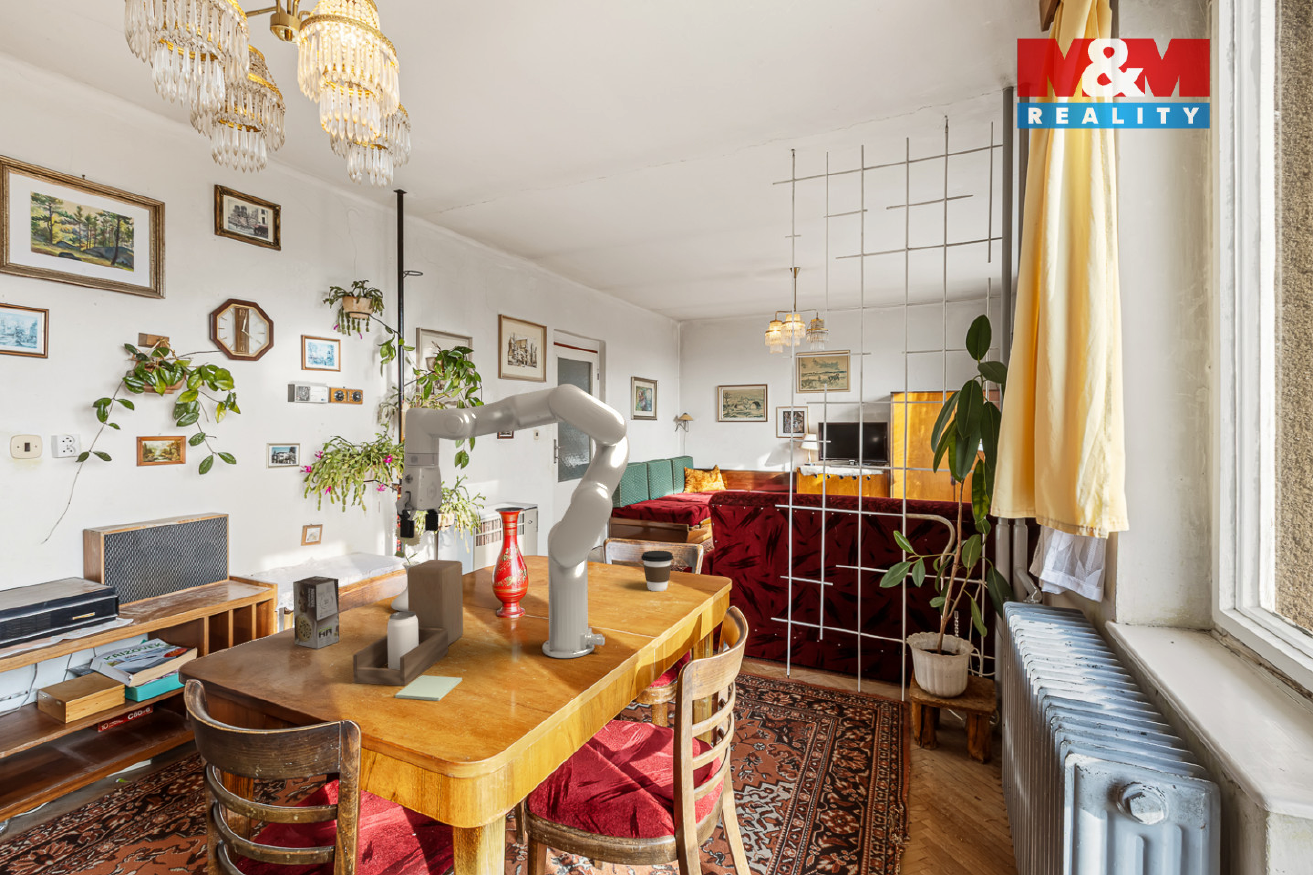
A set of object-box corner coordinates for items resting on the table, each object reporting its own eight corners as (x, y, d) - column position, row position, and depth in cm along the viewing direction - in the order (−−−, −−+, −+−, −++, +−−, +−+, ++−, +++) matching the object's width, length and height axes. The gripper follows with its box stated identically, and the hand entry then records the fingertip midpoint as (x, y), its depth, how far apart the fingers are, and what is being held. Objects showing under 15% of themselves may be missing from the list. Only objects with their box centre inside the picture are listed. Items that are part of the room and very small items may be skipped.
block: (443, 650, 144) (442, 569, 144) (407, 647, 146) (405, 567, 146) (464, 636, 154) (463, 560, 154) (430, 633, 156) (429, 558, 156)
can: (388, 675, 130) (388, 621, 130) (387, 664, 136) (386, 613, 136) (420, 669, 133) (419, 616, 133) (417, 659, 139) (416, 608, 139)
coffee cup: (638, 592, 193) (638, 556, 193) (644, 584, 204) (644, 549, 204) (671, 594, 192) (671, 557, 191) (675, 585, 202) (675, 550, 202)
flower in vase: (439, 606, 180) (438, 525, 180) (406, 616, 170) (405, 530, 170) (413, 600, 187) (412, 521, 187) (379, 609, 177) (378, 526, 177)
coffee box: (340, 641, 151) (339, 578, 151) (317, 649, 145) (316, 584, 145) (317, 636, 155) (316, 575, 155) (293, 644, 149) (292, 580, 149)
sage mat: (461, 680, 127) (461, 677, 127) (438, 700, 118) (438, 697, 118) (421, 677, 129) (421, 675, 129) (395, 697, 119) (395, 694, 119)
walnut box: (448, 653, 142) (447, 628, 142) (404, 685, 125) (404, 657, 124) (402, 650, 144) (402, 626, 144) (353, 682, 126) (352, 654, 126)
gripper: (414, 463, 128) (412, 541, 128) (455, 459, 145) (453, 529, 145) (383, 461, 130) (381, 539, 130) (428, 458, 147) (426, 527, 147)
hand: (419, 534), depth 138 cm, fingers open, 9 cm apart
